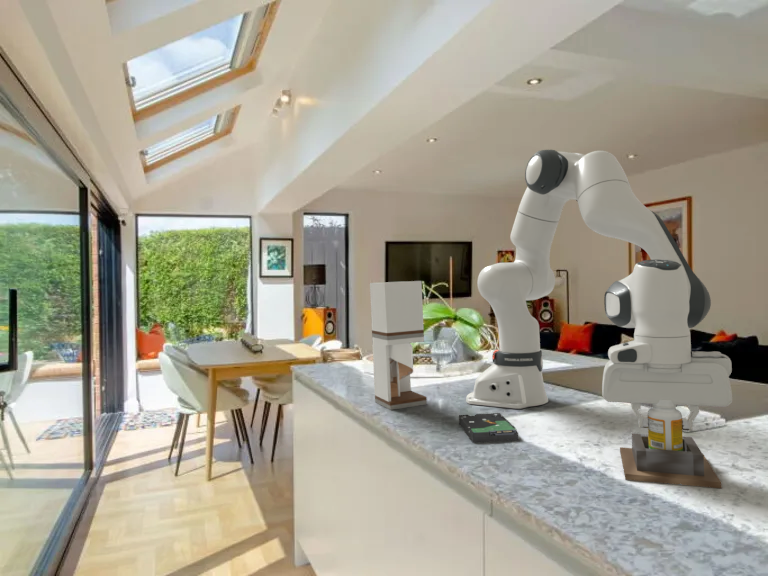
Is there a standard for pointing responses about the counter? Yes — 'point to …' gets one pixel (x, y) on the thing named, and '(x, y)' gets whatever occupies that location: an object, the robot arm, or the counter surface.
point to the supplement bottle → (665, 426)
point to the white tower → (396, 341)
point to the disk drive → (488, 428)
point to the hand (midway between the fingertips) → (664, 428)
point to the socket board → (667, 464)
